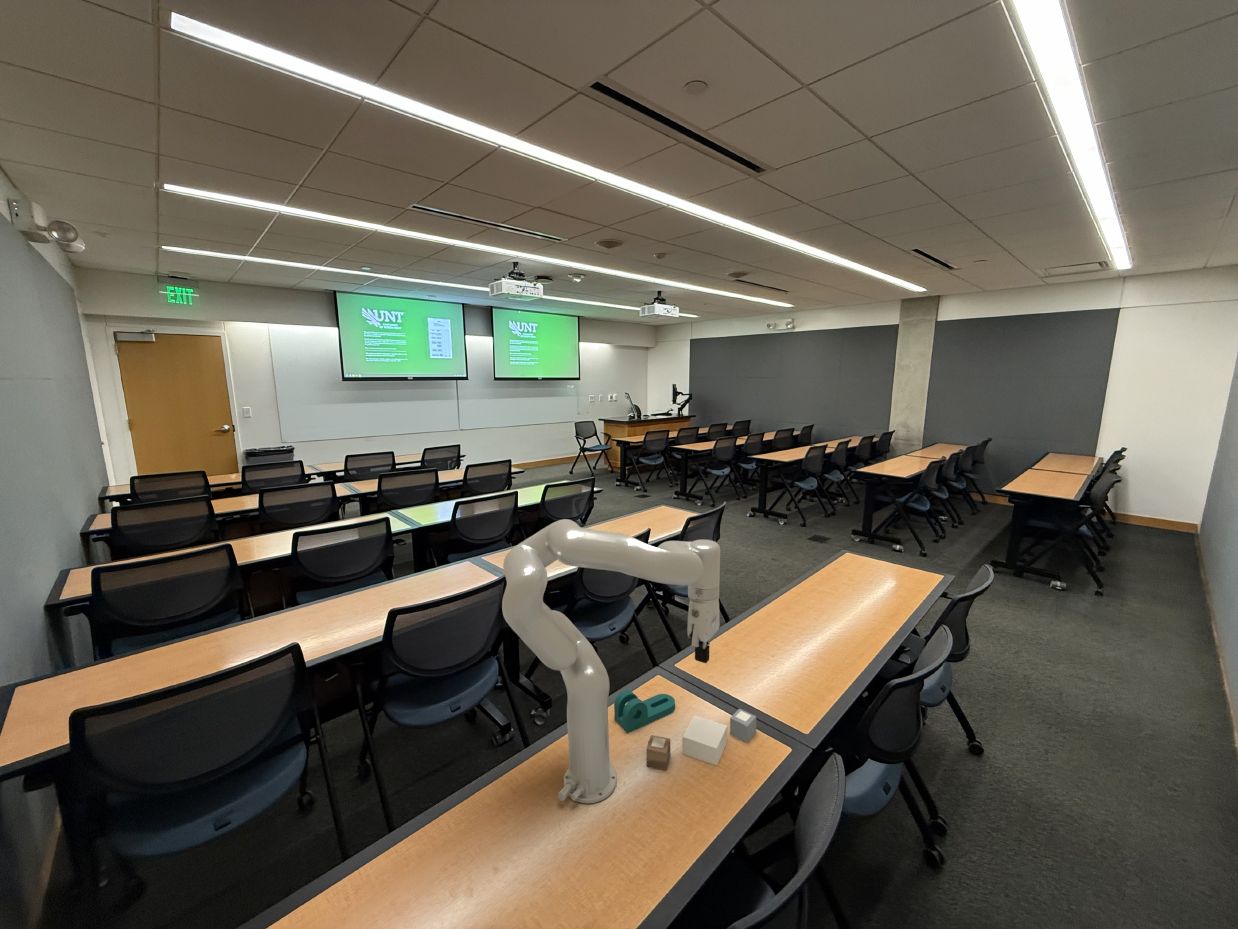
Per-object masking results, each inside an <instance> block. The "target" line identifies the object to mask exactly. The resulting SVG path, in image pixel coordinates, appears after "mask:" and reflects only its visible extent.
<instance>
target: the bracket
mask: <svg viewBox="0 0 1238 929" xmlns="http://www.w3.org/2000/svg"><path fill="white" fill-rule="evenodd" d="M613 704H614V707H613V708H614V721H615V722H616V723H617V724H618V725H619V726H620V727H621V728H622V730H624V732H625V733H626V734H627V735H628V734H630V733H633V732H634V731H635V732H636V731H637V730H639V729H641V728H643V727H646V726H647V725H649V724H652V723H654V722H656V721H658V720H660V719H662V718H665V717H668V716H669V715H672V714H673V713H674V712H675V711H676V700H675V698H674V697H673V696H672V695H670V694H667V693H659V694H655V695H654V696H651V697H649V698H647V699H643V700H641V699H640V698H639V697H638V696H637V695H636V694H635V693H634V692H633V691H632V690H629V689H625V690H623V691H620V693H619V694H618V695H617V696H616V698H615V700H614V703H613Z"/></svg>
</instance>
